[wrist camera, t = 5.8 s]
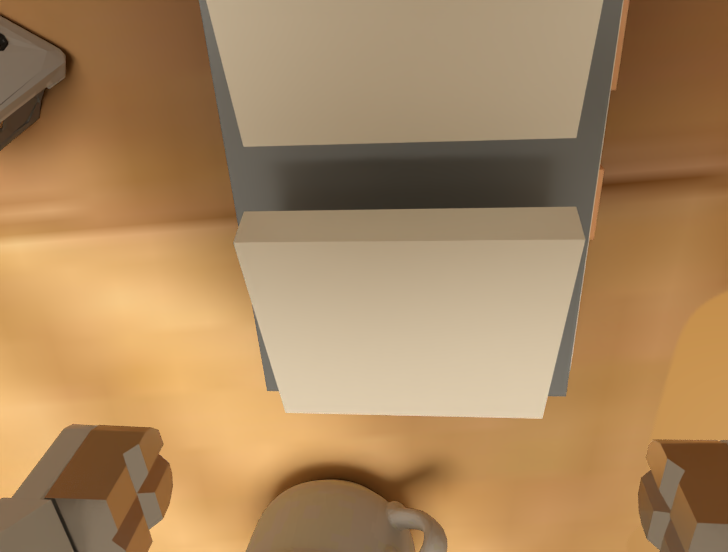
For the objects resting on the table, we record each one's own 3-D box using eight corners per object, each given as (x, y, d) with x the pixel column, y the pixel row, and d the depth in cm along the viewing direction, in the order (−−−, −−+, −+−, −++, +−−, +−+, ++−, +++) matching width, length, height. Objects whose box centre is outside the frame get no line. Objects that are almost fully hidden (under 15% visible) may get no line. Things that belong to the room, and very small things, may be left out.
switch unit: (208, -221, 21) (125, -279, 16) (631, -262, 20) (717, -343, 14) (288, 331, 33) (258, 416, 27) (556, 333, 32) (586, 424, 26)
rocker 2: (244, 211, 20) (232, 242, 19) (576, 206, 19) (585, 239, 18) (291, 382, 27) (285, 412, 26) (537, 386, 26) (542, 418, 25)
